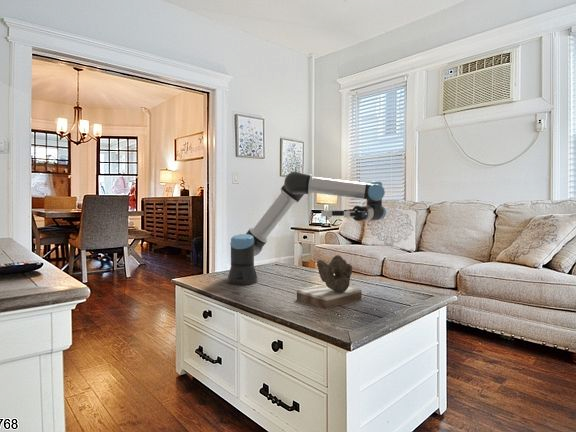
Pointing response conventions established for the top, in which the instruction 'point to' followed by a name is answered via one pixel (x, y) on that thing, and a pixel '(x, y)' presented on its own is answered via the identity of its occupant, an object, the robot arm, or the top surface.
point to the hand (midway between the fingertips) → (332, 214)
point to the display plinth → (328, 296)
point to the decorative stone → (338, 268)
